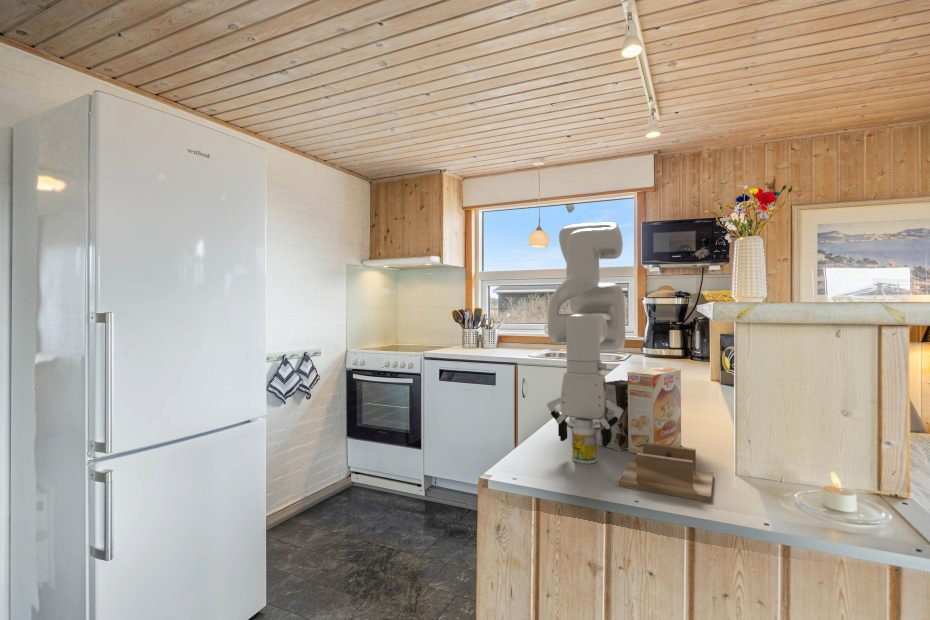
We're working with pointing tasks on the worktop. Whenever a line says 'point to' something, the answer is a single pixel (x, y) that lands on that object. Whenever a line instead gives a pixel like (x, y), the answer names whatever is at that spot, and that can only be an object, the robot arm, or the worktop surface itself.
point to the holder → (668, 473)
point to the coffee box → (619, 430)
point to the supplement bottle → (584, 441)
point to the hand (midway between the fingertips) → (584, 442)
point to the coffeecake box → (654, 408)
